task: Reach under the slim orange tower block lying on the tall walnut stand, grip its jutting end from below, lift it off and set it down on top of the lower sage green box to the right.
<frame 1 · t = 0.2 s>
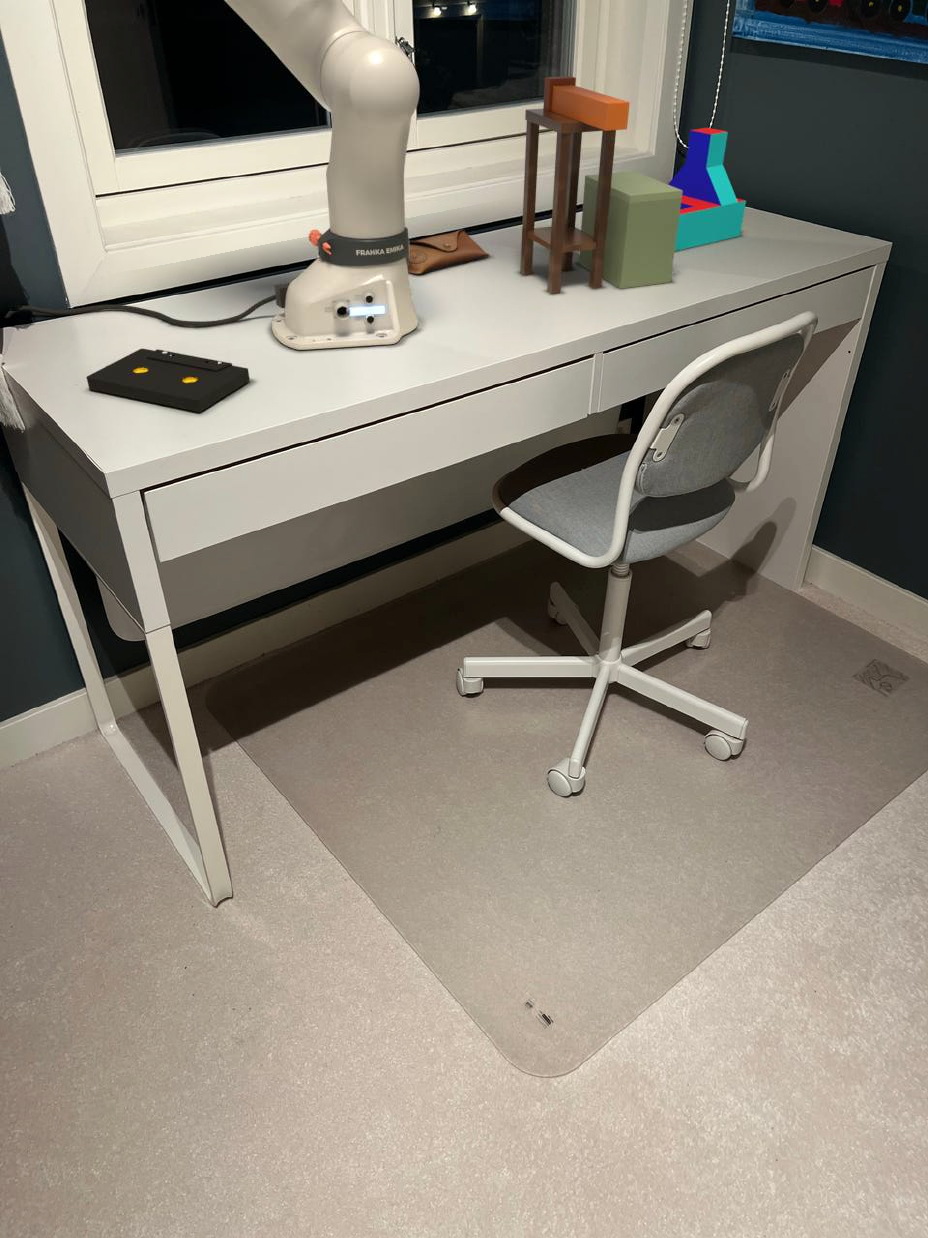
building blocks toy: (661, 230, 194), on the table
cassette tape: (170, 387, 128), on the table
sunglasses case: (441, 262, 175), on the table
sage green box: (623, 272, 170), on the table
stand: (560, 279, 167), on the table
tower: (584, 118, 148), point 26 cm above the table, touching stand
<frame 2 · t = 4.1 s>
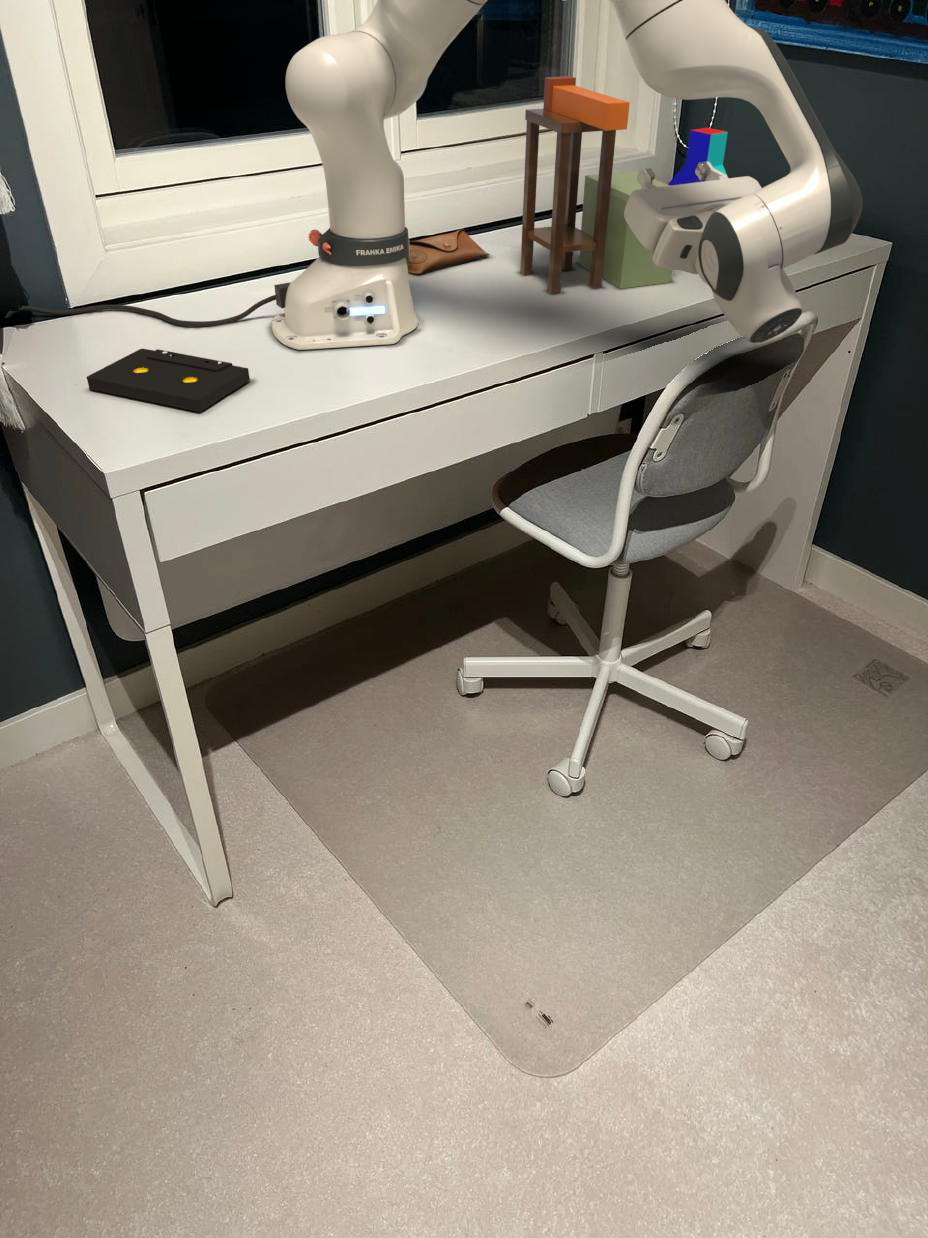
hand: (672, 169, 131), 24 cm above the table, tool pointing upward, fingers open, 8 cm apart
nothing on the table moved.
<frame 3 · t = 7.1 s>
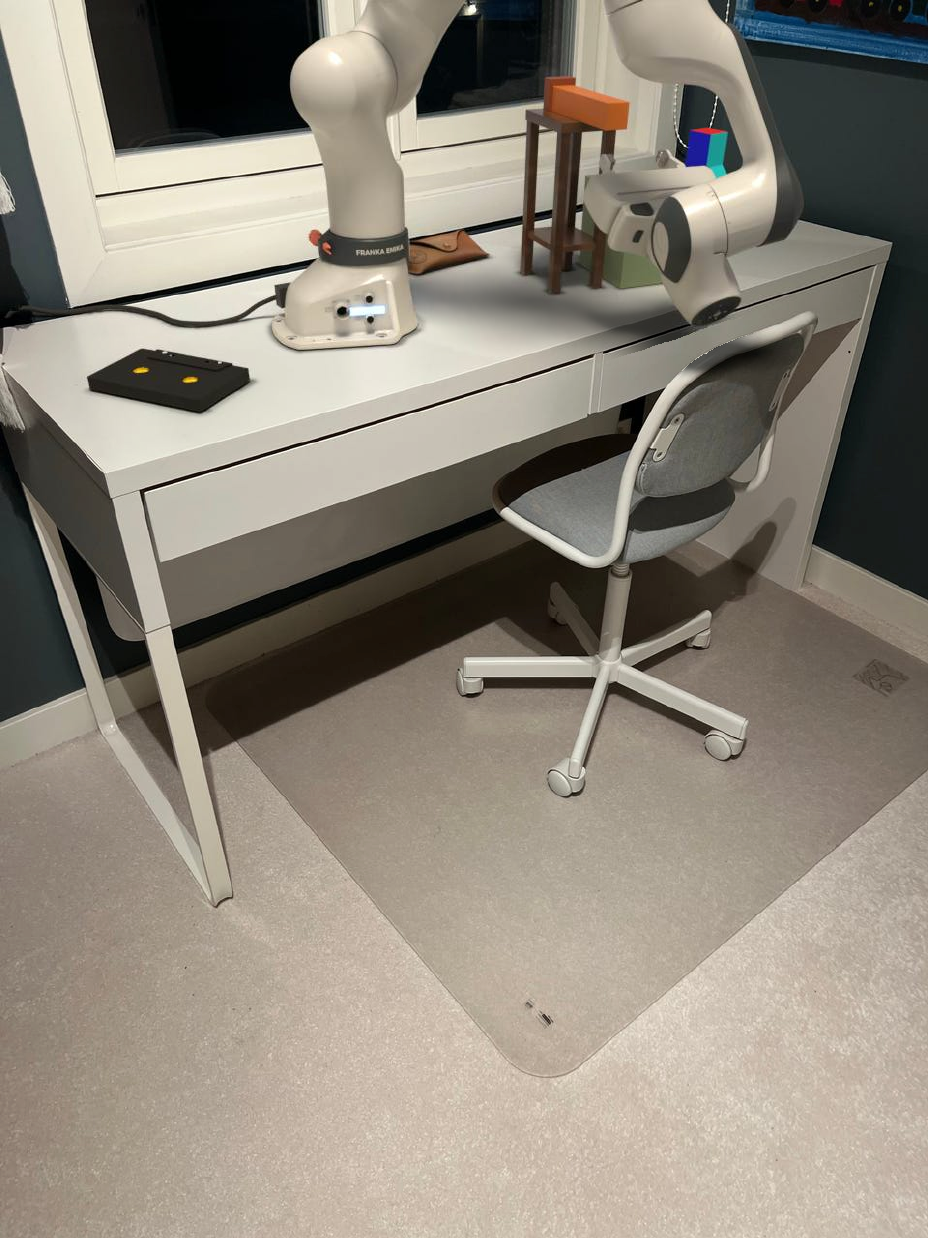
hand: (633, 155, 138), 24 cm above the table, tool pointing upward, fingers open, 8 cm apart
nothing on the table moved.
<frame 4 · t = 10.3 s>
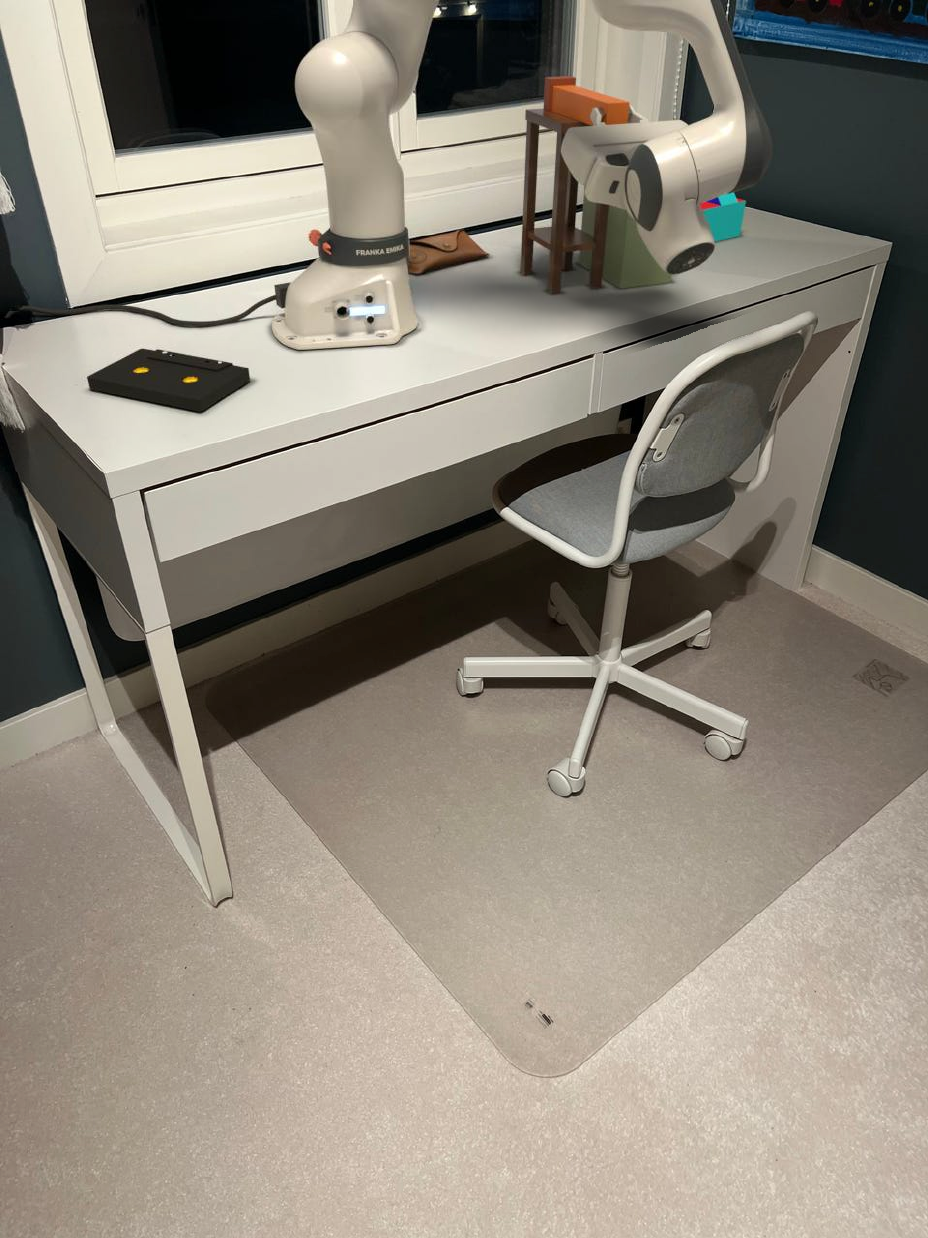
hand: (610, 110, 141), 28 cm above the table, tool pointing upward, fingers closed on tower, 3 cm apart
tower: (584, 118, 148), point 26 cm above the table, touching gripper, stand
everything else where it was.
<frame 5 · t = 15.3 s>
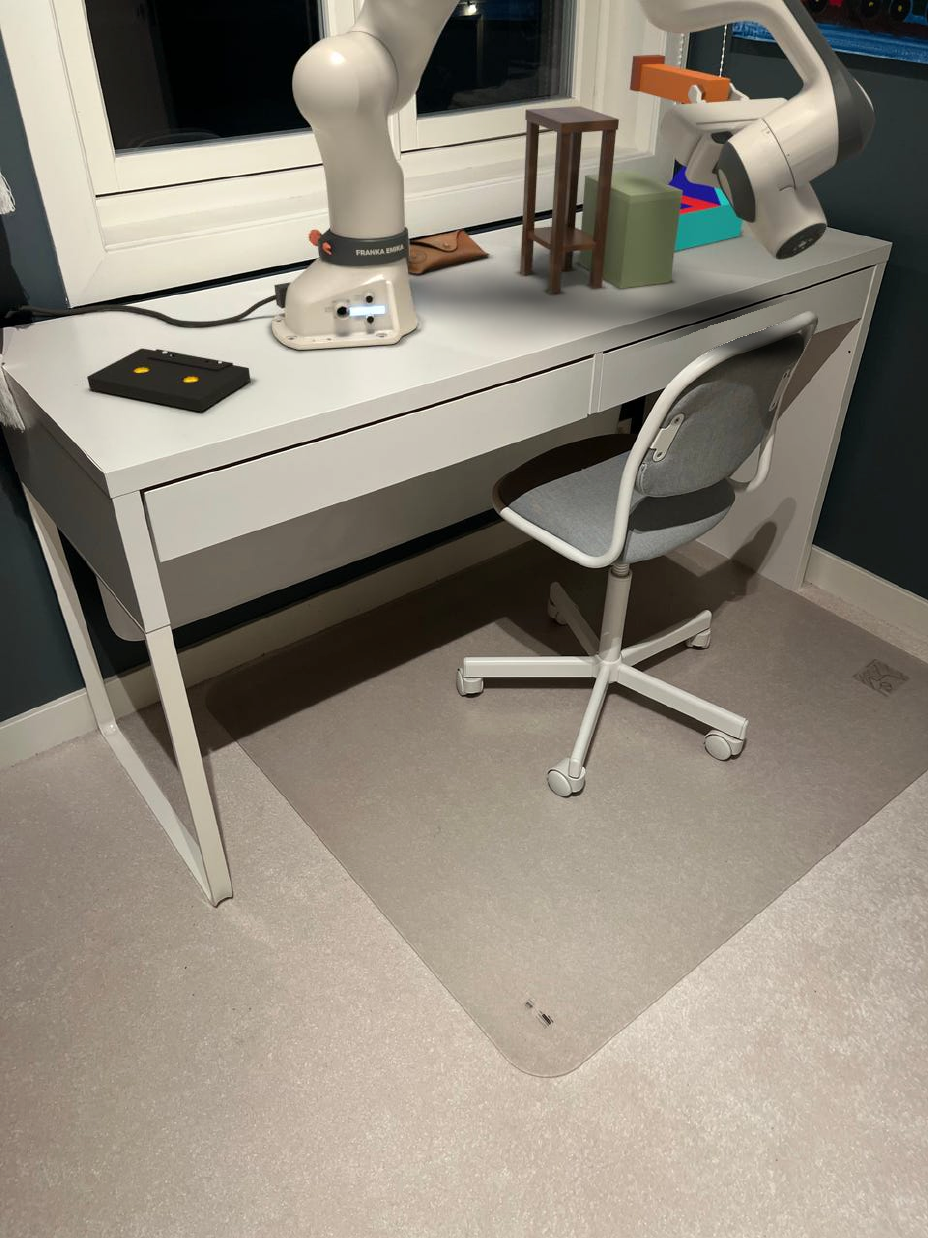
hand: (708, 87, 134), 32 cm above the table, tool pointing upward, fingers closed on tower, 3 cm apart
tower: (677, 98, 141), point 30 cm above the table, touching gripper
everything else where it was.
when the fingers open (17 cm above the table, at t = 20.8 s): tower stays where it is, resting on sage green box.
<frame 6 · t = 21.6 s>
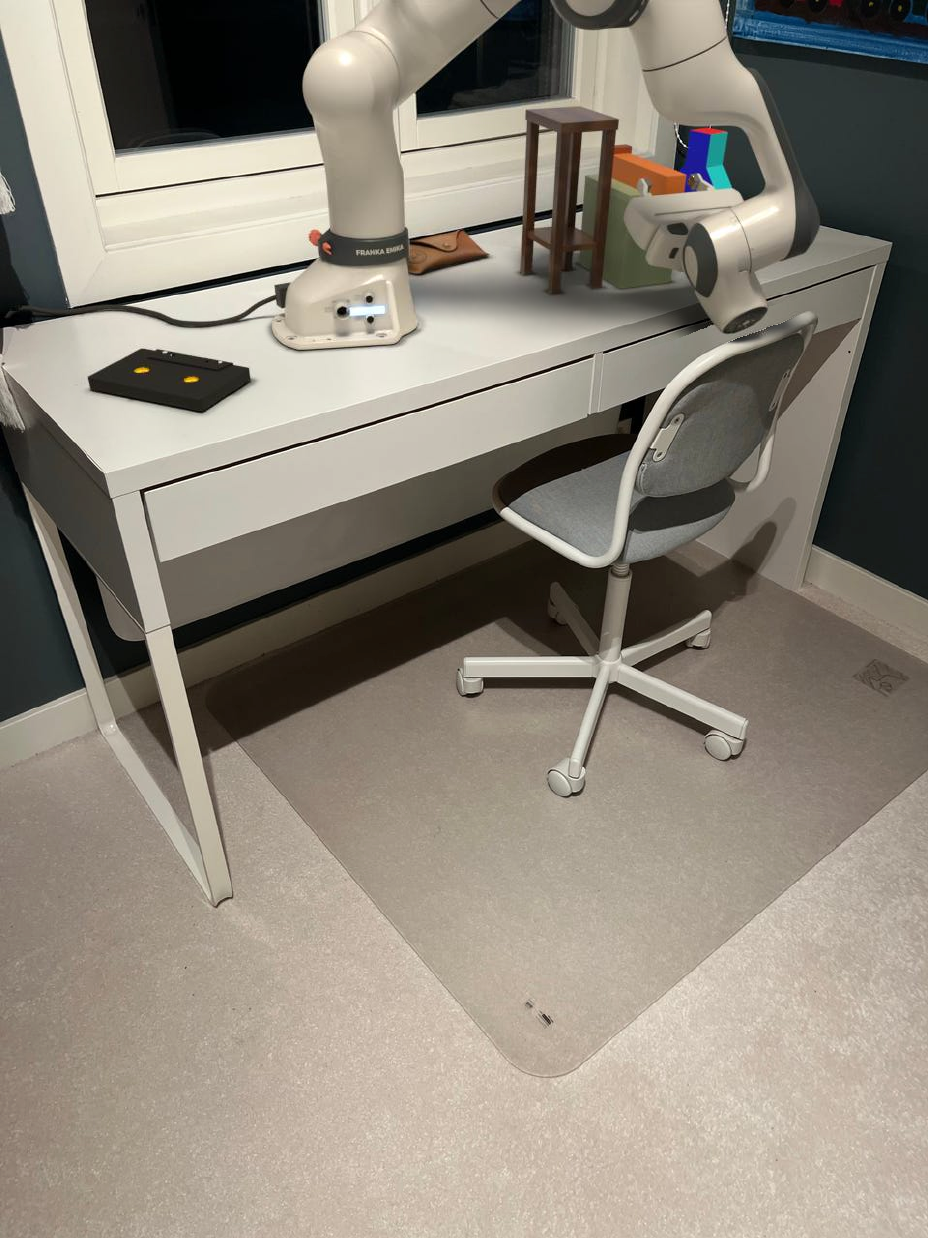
hand: (667, 179, 152), 18 cm above the table, tool pointing upward, fingers open, 8 cm apart
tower: (641, 186, 159), point 15 cm above the table, touching sage green box
everything else where it was.
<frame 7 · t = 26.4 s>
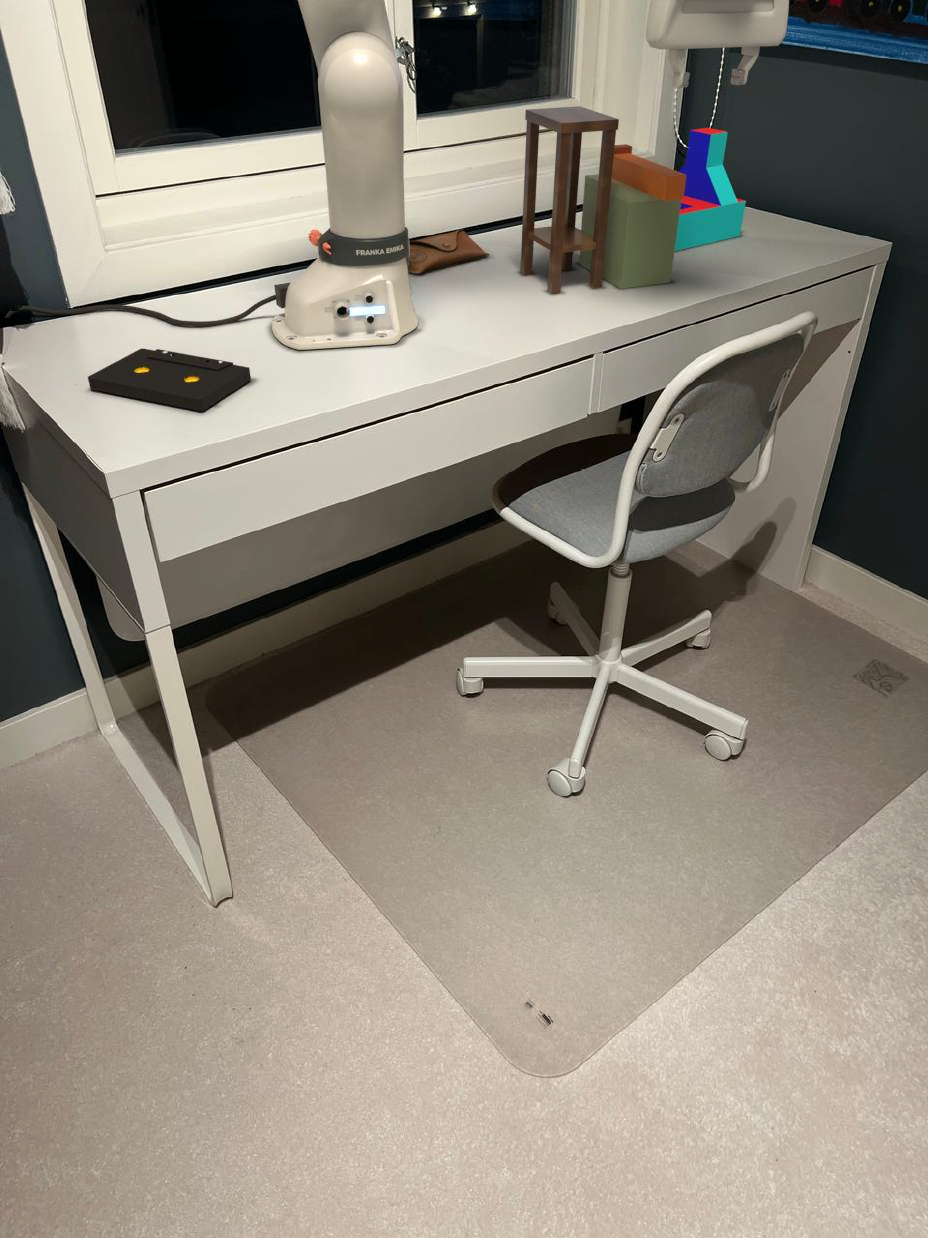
hand: (709, 85, 130), 33 cm above the table, tool pointing down, fingers open, 8 cm apart
nothing on the table moved.
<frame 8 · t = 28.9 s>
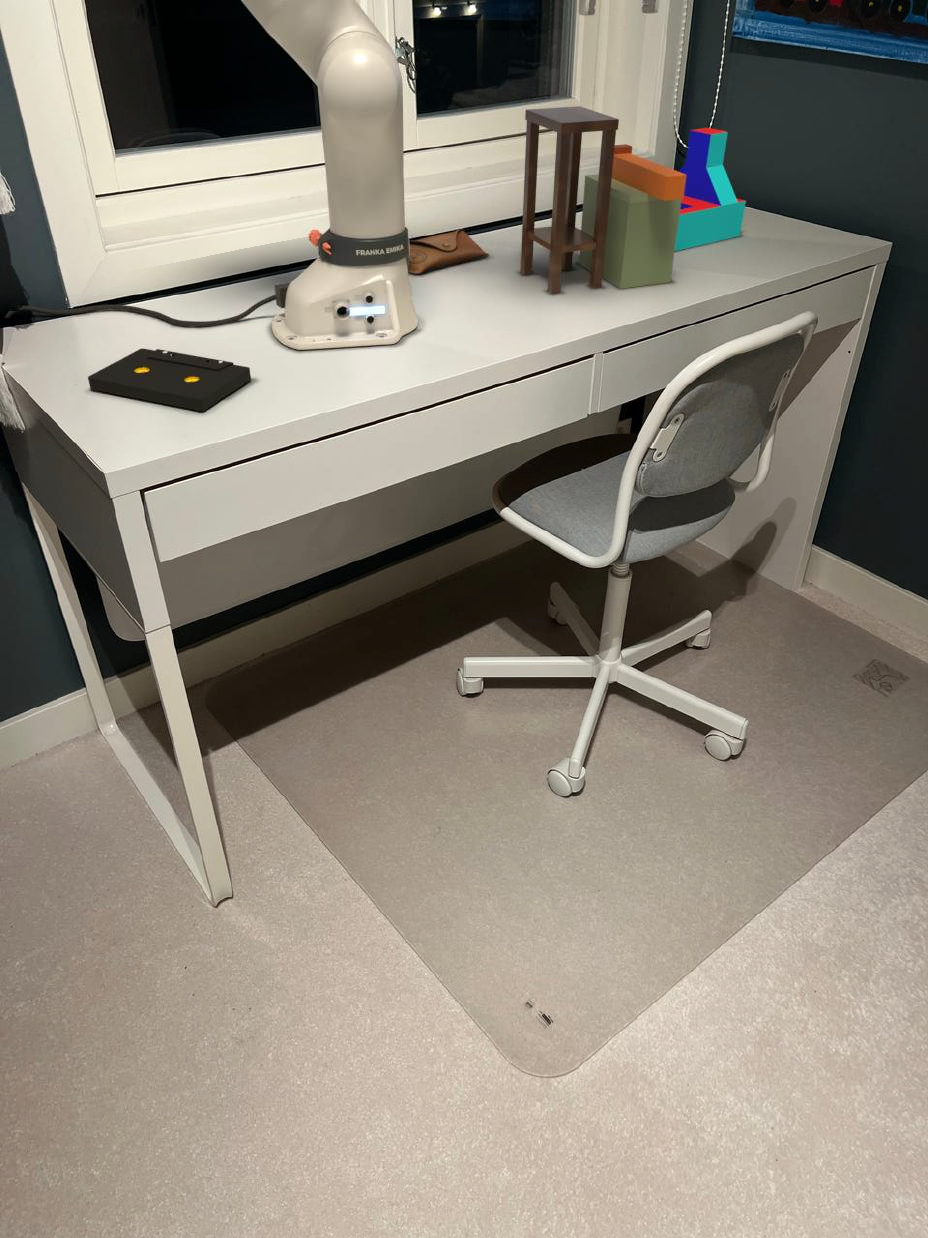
hand: (618, 13, 124), 41 cm above the table, tool pointing down, fingers open, 8 cm apart
nothing on the table moved.
at the end: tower inside the target area on the sage green box (2.8 cm from its centre), point 15.0 cm above the sage green box's base; the gripper is holding nothing; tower touching sage green box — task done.
